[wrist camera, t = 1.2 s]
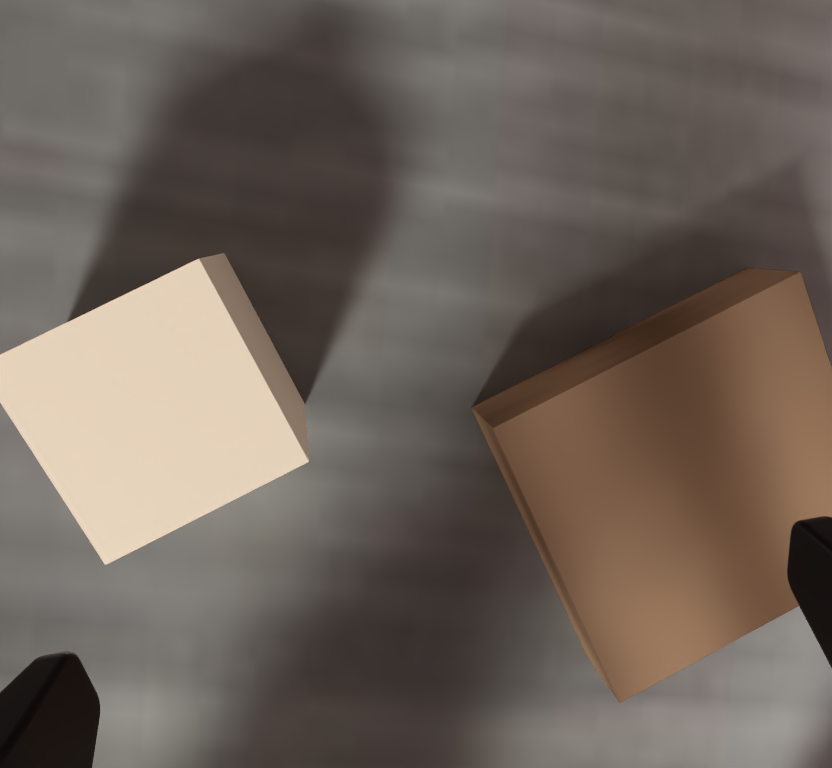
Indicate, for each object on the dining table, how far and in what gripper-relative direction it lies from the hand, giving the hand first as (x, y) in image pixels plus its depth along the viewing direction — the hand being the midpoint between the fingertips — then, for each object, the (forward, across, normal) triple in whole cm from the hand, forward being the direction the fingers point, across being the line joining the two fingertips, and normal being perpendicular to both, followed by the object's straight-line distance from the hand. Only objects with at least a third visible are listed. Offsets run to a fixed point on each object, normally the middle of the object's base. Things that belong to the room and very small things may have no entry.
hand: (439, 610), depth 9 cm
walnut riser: (+14, -8, +8) cm, 18 cm away
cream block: (+13, +6, +2) cm, 15 cm away
